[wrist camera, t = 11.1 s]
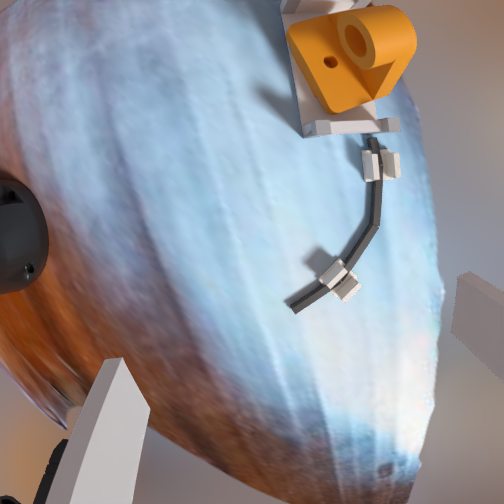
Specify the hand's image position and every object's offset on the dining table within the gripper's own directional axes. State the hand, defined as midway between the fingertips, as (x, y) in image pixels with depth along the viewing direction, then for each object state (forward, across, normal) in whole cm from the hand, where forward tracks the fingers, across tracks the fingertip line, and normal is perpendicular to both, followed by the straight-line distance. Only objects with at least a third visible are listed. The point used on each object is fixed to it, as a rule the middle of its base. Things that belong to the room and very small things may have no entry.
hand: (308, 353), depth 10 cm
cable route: (+24, +10, -3) cm, 27 cm away
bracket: (+24, +12, +15) cm, 31 cm away
